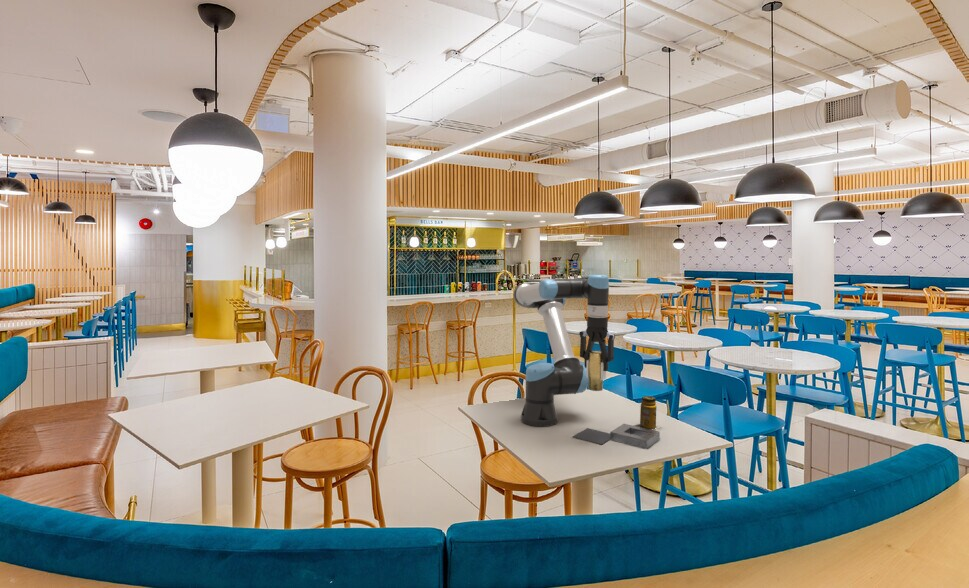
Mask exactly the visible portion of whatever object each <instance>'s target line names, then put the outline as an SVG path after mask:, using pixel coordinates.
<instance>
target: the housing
mask: <svg viewBox="0 0 969 588" xmlns="http://www.w3.org/2000/svg"><path fill="white" fill-rule="evenodd" d="M660 434H661V432H660V431H658V430H650V429H646V428H641V427H637V426H633V425H632V424H628V423H622V424H621V425H619V426H618V427H616V428H614V429H613V430H611V431H610V440H609V441H615V442H618V443H622V444H625V445H630V446H633V447H638V448H640V449H645V450H649V448H650V447H652V446H653V445H654V444H655V443H657V442H658V441H659V440H660Z"/></svg>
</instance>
